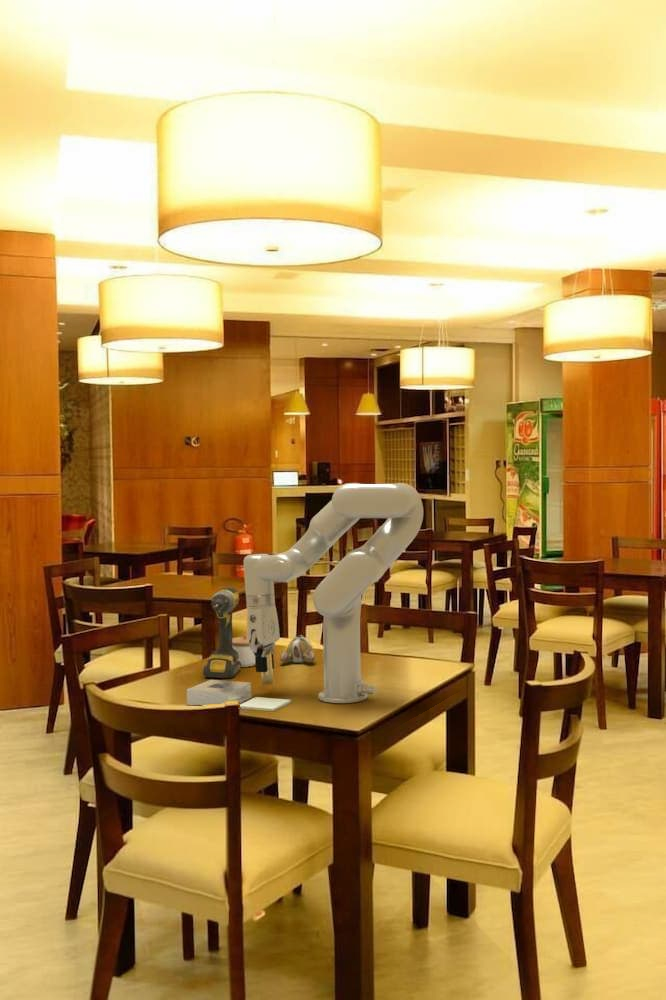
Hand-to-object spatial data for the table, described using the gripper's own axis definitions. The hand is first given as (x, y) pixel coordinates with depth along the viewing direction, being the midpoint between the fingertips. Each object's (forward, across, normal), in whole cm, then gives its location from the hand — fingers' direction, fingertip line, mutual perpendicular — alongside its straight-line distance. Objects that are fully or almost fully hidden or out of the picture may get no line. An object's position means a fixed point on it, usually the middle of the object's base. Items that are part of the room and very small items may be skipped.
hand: (265, 669), depth 257 cm
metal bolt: (+4, 0, -1) cm, 4 cm away
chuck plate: (+6, -10, +8) cm, 15 cm away
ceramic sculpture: (+7, +43, +11) cm, 45 cm away
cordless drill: (+6, +17, +24) cm, 29 cm away
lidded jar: (+6, +34, +24) cm, 42 cm away
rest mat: (+7, -10, -4) cm, 13 cm away
